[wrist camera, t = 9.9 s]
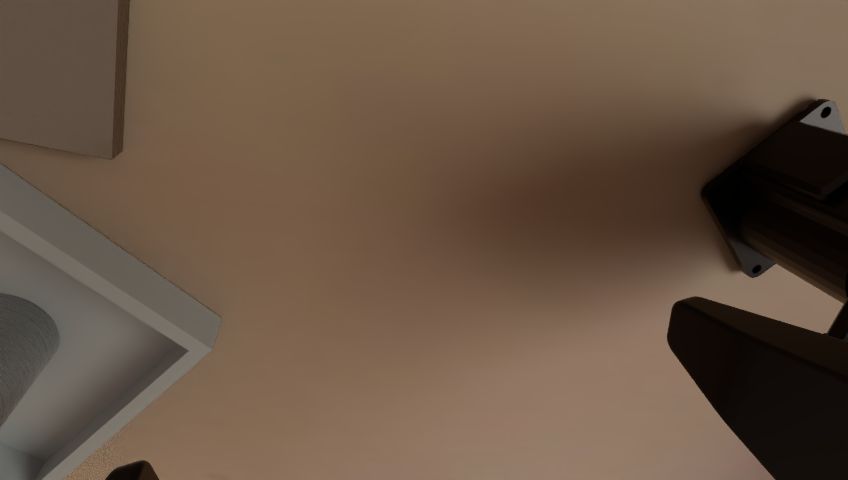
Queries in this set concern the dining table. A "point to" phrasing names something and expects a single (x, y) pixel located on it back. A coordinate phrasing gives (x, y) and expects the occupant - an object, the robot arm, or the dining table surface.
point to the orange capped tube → (22, 348)
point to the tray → (88, 334)
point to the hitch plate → (64, 74)
